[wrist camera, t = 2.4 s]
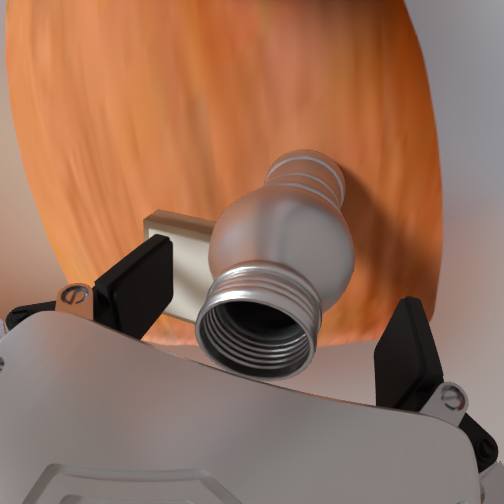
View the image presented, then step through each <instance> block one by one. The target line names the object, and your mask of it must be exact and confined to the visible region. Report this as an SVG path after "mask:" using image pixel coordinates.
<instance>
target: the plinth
mask: <svg viewBox="0 0 504 504" xmlns="http://www.w3.org/2000/svg"><path fill="white" fill-rule="evenodd" d="M215 224H216V222H214V221H209V220H205V219H200V218H196V217H191V216H186V215H182V214H177V213H172V212H167V211H163V210H157V211H155V212H154V213H152V214H151V215H149V216H148V217H146V218H145V219H143V225H144V242H145V241H146V240H148V239H149V238H150V237H152V236H153V235H154V234H160V235H164V236H168V237H169V238H170V241H172V242H173V285H174V295H173V299H172V301H171V303H170V304H169V305H168V306H167V307H166V309H165V310H164V311H163V312H162V314H165V315H168V316H170V317H173V318H176V319H179V320H182V321H186V322H189V323H192V324H195V323H196V319H197V316H198V313H199V311H200V309H201V308H202V306H203V304H204V303H205V301H206V297H207V294H208V291H209V288H210V287H211V285H212V284H213V282H214V281H213V279H212V276H211V273H210V270H209V264H208V250H209V244H210V239H211V235H212V232H213V229H214V226H215Z"/></svg>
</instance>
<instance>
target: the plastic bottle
mask: <svg viewBox="0 0 504 504" xmlns="http://www.w3.org/2000/svg"><path fill="white" fill-rule="evenodd" d="M345 194H346V184H345V178H344V176H343V173H342V171H341V170H340V168H339V167H338V165H337V164H336V163H335V162H334V161H333V160H332V159H330V158H329V157H327V156H326V155H324V154H322V153H319V152H317V151H312V150H296V151H292V152H289V153H286V154H284V155H283V156H281V157H280V158H278V159H277V160H276V161H275V162H274V163H273V164H272V166H271V167H270V169H269V171H268V173H267V176H266V178H265V181H264V185H263V186H262V187H260V188H258V189H256V190H254V191H252V192H249V193H247V194H246V195H244V196H243V197H241V198H240V199H238V200H237V201H235V202H234V203H233V204H231V205H230V206H229V207H228V208H227V209H226V210H225V211H224V212H223V213H222V214H221V216H220V217H219V219H218V221H217V222H216V224H215V226H214V229H213V232H212V235H211V239H210V244H209V250H208V264H209V270H210V273H211V276H212V279H213V281H214V282H213V284H212V285H211V287H210V288H209V291H208V294H207V297H206V301H205V303H204V304H203V306H202V308H201V309H200V311H199V313H198V316H197V319H196V323H195V335H196V339H197V342H198V344H199V346H200V348H201V349H202V351H203V352H204V353H205V355H206V356H207V357H209V358H210V359H211V361H213V362H214V363H215V364H216V365H218V366H219V367H221V368H222V369H224V370H226V371H228V372H230V373H233V374H237V375H240V376H243V377H247V378H250V379H254V380H257V381H279V380H284V379H288V378H291V377H293V376H295V375H298V374H299V373H301V372H302V371H303V370H305V369H306V368H307V367H308V365H309V364H310V363H311V361H312V359H313V357H314V353H315V351H316V345H317V334H318V332H319V330H320V327H321V322H322V314H323V313H325V312H326V311H328V310H329V309H330V308H331V307H332V306H333V305H334V304H336V303H337V302H338V300H339V299H340V298H341V296H342V295H343V293H344V292H345V290H346V288H347V286H348V284H349V282H350V279H351V277H352V274H353V271H354V266H355V258H356V256H355V247H354V242H353V239H352V235H351V232H350V230H349V227H348V224H347V223H346V221H345V219H344V217H343V215H342V213H341V211H340V209H341V207H342V205H343V202H344V198H345Z"/></svg>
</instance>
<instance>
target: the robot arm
mask: <svg viewBox="0 0 504 504" xmlns="http://www.w3.org/2000/svg"><path fill="white" fill-rule="evenodd" d="M173 295H174V285H173V242H172V241H170V238H169V237H168V236H164V235H160V234H154V235H153V236H152V237H150V238H149V239H148V240H146V241H145V242H144V243H142V244H141V245H140V246H138V247H137V248H136V249H135V250H133V251H132V252H131V253H129V254H128V255H127V256H126V257H124V258H123V259H122V260H121V261H119V262H118V263H117V264H116V265H114V266H113V267H112V268H111V269H109V270H108V271H107V272H106V273H104V274H103V275H102V276H101V277H99V278H98V279H97V280H96V281H95V286H94V287H93V288H91V287H90V286H88V285H87V284H83V283H74V284H70V285H67V286H65V287H64V288H63V289H61V290H60V292H59V293H58V296H57V300H56V301H51V302H45V303H39V304H32V305H26V306H21V307H17V308H15V309H14V310H12V311H11V312H10V313H9V314H8V316H7V318H6V322H3V320H0V504H504V466H503V464H502V463H501V461H500V462H498V463H497V461H496V460H497V457H498V446H497V444H496V442H495V440H494V439H493V438H492V437H491V436H490V435H489V434H488V433H487V432H486V431H485V430H484V429H483V428H482V427H481V426H480V425H479V424H478V423H477V422H476V421H474V420H473V419H472V418H471V417H470V416H469V415H468V414H467V413H466V410H467V408H468V397H467V395H466V393H465V391H464V390H463V389H462V388H461V387H460V386H459V385H457V384H455V383H452V382H444V379H443V371H442V367H441V363H440V360H439V356H438V352H437V349H436V346H435V342H434V339H433V336H432V333H431V330H430V326H429V323H428V320H427V317H426V314H425V311H424V309H423V306H422V303H421V300H420V299H417V298H413V297H409V296H406V297H405V298H404V299H401V300H400V301H399V303H398V305H397V307H396V309H395V311H394V313H393V315H392V317H391V319H390V321H389V323H388V325H387V327H386V329H385V331H384V333H383V335H382V336H381V338H380V340H379V342H378V344H377V346H376V348H375V351H374V367H375V385H376V386H375V388H376V406H373V405H367V404H361V403H356V402H350V401H344V400H338V399H333V398H328V397H323V396H319V395H314V394H309V393H305V392H301V391H296V390H292V389H288V388H284V387H280V386H276V385H272V384H268V383H265V382H261V381H257V380H254V379H250V378H247V377H243V376H240V375H237V374H233V373H230V372H227V371H224V370H220V369H217V368H214V367H211V366H208V365H205V364H202V363H199V362H196V361H193V360H191V359H188V358H185V357H182V356H179V355H177V354H174V353H171V352H168V351H166V350H163V349H161V348H158V347H155V346H153V345H151V344H148V343H146V342H143V341H141V339H142V337H143V336H144V335H145V334H146V332H147V331H148V330H149V329H150V327H151V326H152V325H153V324H154V322H155V321H156V320H157V319H158V317H159V316H160V315H161V314H162V312H163V311H164V310H165V309H166V307H167V306H168V305H169V304H170V303H171V301H172V299H173Z"/></svg>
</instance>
